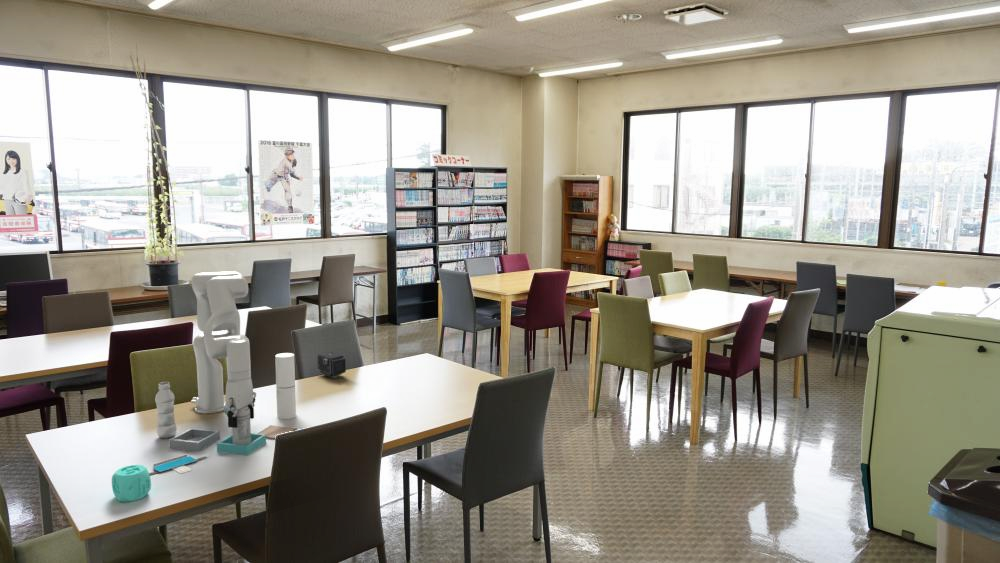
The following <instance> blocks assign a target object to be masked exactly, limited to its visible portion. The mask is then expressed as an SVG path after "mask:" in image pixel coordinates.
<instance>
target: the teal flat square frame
mask: <svg viewBox="0 0 1000 563" xmlns="http://www.w3.org/2000/svg"><path fill="white" fill-rule="evenodd" d="M266 443H267V438H266V435H264V434H257V433H255V432H254V433H252V432H251V443H250V444H248V445H246V446H245V445H236V444H233V438H232V434H231V435H229V436H227V437H226V438H223V439H222V440H219V442H217V443H216V452H217V453H223V454H224V453H226V454H233V455H242V456H243V455H244V456H248V455H249V454H251V453H253V452H254V451H256V450H257V449H259V448H261V447H262V446H264V445H265V444H266ZM263 444H264V445H263Z"/></svg>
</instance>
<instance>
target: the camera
mask: <svg viewBox="0 0 1000 563" xmlns="http://www.w3.org/2000/svg"><path fill="white" fill-rule="evenodd" d="M346 365H347V364H346V358H345V357H344V355H342V354H339V353H336V352H333V351H330V352H326V353H320V354H317V369H318V370H319V371H320V373H321V374H322V375H325V376H326V377H330V378H331V379H336V378H338V376H340V375H342V374H344V373H346V371H347V370H346V368H347V366H346Z"/></svg>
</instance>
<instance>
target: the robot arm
mask: <svg viewBox="0 0 1000 563" xmlns="http://www.w3.org/2000/svg"><path fill="white" fill-rule="evenodd" d="M191 288H192V292H193V293H194V295H195V298H196V318H197V319H196V322H197V327H198V329H199V331H201V332H203V333H202V334H199V335H197V336H195V337H194V338H193V342H192V346H193V351H194V356H195V362H196V376H197V378H196V379H197V395H198V396H193V397H192V399H191V400H190V402H191V404H195V405H196V406H195V407H194V412H196V413H198V414H204V415H205V414H215V413H220V412H222V411H224V413H225V414H224V415H226V417H227V426H228V428H231V429H232V428H237V416H236V413H237V411H238V410H239V409H241V408H243V407H245V406H247V405H248V408H249V409H250V420H253V419H255V409H254V408H255V402H256V397H257V393H256V392H255V391H254V386H253V380H252V371H251V370H252V369H251V344H250V340H249V338H248V337H247V336H246V335H245V334H241V316H240V312H239V310H238V308H237V305H236V300H235V299H237V298H238V299H241V298H245V297H247V296H248V293H249V284H248V281H247V279H246V277H245V276H244V275H243V274H241V273H240V272H238V271H211V272H200V273H199V272H198V273H196V274H193V276H192V277H191ZM223 358H224V359H225V358H226V368H227V370H226V371H227V381H226V386H225V394H224V376H223V375H224V374H223V373H224V372H223V370H224V369H223V365H222V363H221V362H220V361H219V360H218V359H223ZM224 395H225V397H224ZM224 398H225V399H224ZM232 410H234V412H232Z"/></svg>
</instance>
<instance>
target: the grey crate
mask: <svg viewBox="0 0 1000 563" xmlns="http://www.w3.org/2000/svg"><path fill="white" fill-rule="evenodd" d="M192 438H197V439H198V438H200V440H199V441H196V440H195V441H194V440H190V439H192ZM168 440H169V441H168V442H169V448H170V449H177V450H187V451H194V452H197V451H198V452H199V451H202V450H203V449H205V448H207V447H208V446H210V445H212V444H215V443H216V442H217V441H220V440H221V433H220V430H214V429H213V430H212V429H202V428H196V427H195V428H194V427H193V428H190V429H189V428H188V430H185V431H184V432H183V431H182V432H181V433H180V434H177V435H174V436H172V437H170V438H169V439H168Z"/></svg>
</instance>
